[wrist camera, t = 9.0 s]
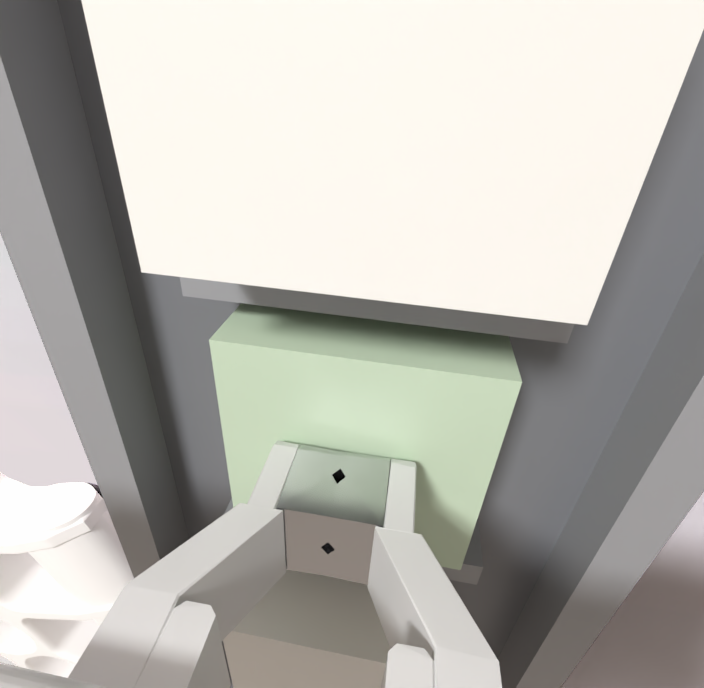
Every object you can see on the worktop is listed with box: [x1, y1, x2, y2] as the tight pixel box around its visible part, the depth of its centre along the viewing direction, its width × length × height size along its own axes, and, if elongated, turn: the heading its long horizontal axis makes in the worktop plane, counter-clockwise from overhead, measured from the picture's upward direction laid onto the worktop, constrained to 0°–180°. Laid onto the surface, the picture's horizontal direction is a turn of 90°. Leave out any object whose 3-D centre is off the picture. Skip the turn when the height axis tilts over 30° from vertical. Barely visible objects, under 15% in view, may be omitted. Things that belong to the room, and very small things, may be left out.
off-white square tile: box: [223, 570, 390, 688], centre depth 13 cm, size 6×6×2 cm
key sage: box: [209, 303, 522, 570], centre depth 10 cm, size 6×6×2 cm
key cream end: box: [81, 0, 704, 325], centre depth 5 cm, size 6×6×2 cm
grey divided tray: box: [0, 0, 704, 688], centre depth 13 cm, size 14×32×4 cm, turn 177°
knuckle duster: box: [0, 472, 134, 678], centre depth 23 cm, size 3×18×15 cm
